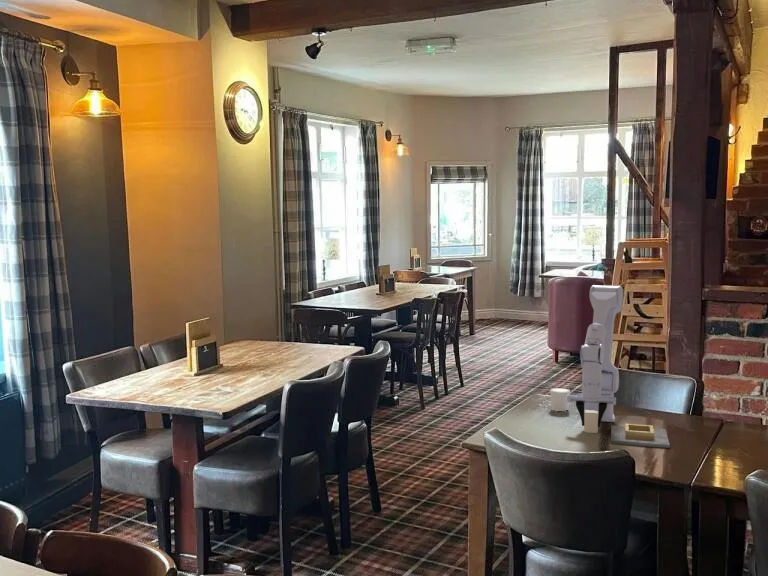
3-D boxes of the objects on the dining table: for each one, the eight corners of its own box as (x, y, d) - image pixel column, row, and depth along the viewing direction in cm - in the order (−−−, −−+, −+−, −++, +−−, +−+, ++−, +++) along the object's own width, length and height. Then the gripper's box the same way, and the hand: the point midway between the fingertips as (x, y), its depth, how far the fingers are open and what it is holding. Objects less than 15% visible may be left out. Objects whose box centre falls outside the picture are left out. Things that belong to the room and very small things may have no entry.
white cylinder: (571, 408, 252) (572, 388, 251) (568, 413, 246) (568, 392, 245) (552, 406, 255) (552, 386, 254) (547, 411, 248) (548, 391, 248)
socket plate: (611, 443, 212) (611, 433, 211) (611, 428, 227) (611, 419, 227) (669, 448, 207) (669, 438, 207) (665, 432, 222) (665, 422, 222)
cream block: (584, 432, 224) (584, 413, 223) (584, 428, 227) (584, 409, 227) (597, 433, 222) (597, 414, 222) (597, 429, 226) (598, 410, 226)
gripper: (566, 384, 222) (566, 427, 223) (616, 386, 217) (615, 430, 219) (568, 379, 229) (567, 421, 230) (616, 381, 224) (615, 424, 225)
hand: (591, 425), depth 225 cm, fingers closed on cream block, 4 cm apart
